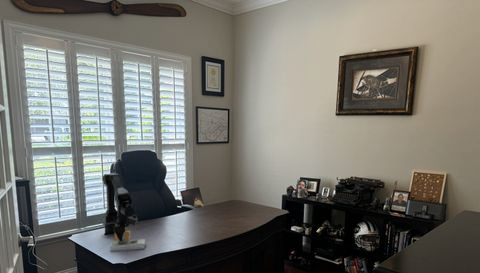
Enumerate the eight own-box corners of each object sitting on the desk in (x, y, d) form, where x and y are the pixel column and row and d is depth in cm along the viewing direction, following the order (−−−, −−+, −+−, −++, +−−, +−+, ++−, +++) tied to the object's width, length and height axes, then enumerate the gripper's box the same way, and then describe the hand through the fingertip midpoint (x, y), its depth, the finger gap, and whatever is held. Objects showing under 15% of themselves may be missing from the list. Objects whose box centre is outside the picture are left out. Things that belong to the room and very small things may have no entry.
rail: (110, 251, 156) (110, 245, 156) (113, 246, 163) (113, 241, 163) (143, 248, 160) (143, 243, 160) (145, 244, 166) (145, 239, 166)
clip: (114, 243, 167) (114, 233, 167) (115, 241, 170) (115, 231, 170) (129, 242, 169) (129, 232, 169) (130, 240, 172) (130, 230, 172)
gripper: (134, 216, 162) (133, 243, 162) (139, 208, 180) (138, 232, 180) (113, 217, 160) (113, 244, 160) (120, 209, 178) (120, 233, 178)
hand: (122, 238), depth 169 cm, fingers open, 9 cm apart
